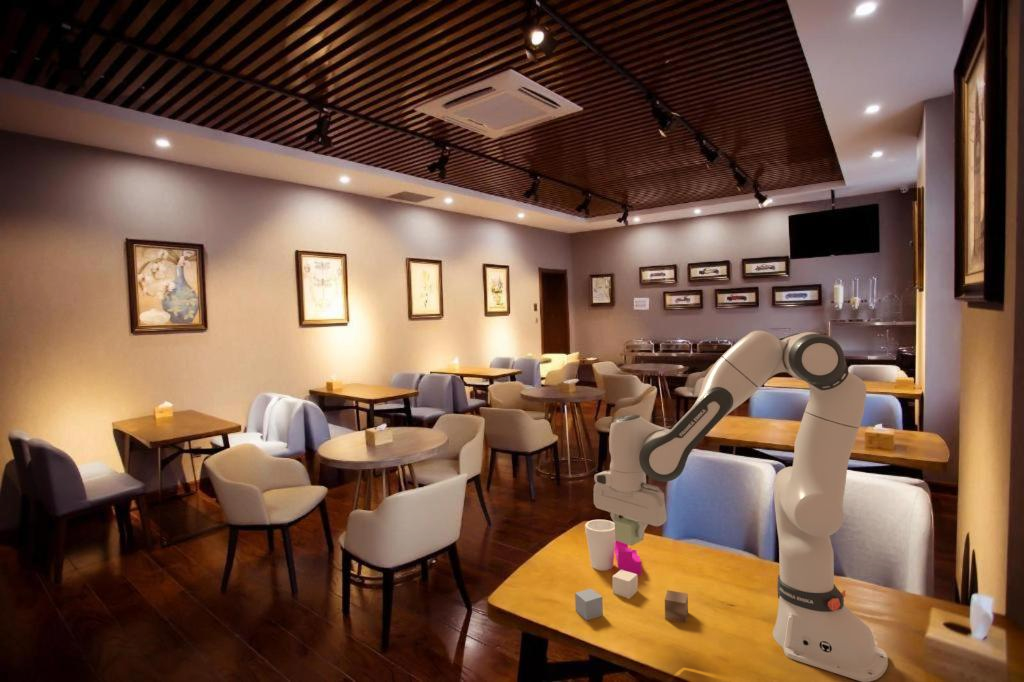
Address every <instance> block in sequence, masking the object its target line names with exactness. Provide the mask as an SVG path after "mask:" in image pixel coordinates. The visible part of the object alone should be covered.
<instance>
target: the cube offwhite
mask: <svg viewBox="0 0 1024 682" xmlns="http://www.w3.org/2000/svg"><path fill="white" fill-rule="evenodd" d="M638 579H639V578H638V575H637V574H634V573H631V572H628V571H624V570H620V571H619V570H618V571H617V572H616V573H615V574H613V575H612V579H611V580H612V594H613V595H614V594H615V595H617V596H619V597H623V598H626V599H629V600H630V599H631V598H632V597H634V595H635V594H636V593H637V592H639V591H638V590H639V589H638V586H639V585H638V583H639V582H638Z"/></svg>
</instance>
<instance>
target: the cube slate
mask: <svg viewBox="0 0 1024 682" xmlns="http://www.w3.org/2000/svg"><path fill="white" fill-rule="evenodd" d="M574 601H575V612H577V614H578V615H580V617H582V618H583V619H584V620H585V621H590V620H592V619H596V618H598V617H602V616H604V613H603V612H604V611H603V609H604V607H603V605H604V604H603V602H604V601H603V596H602V595H601V594H599V593H598V592H597V591H595V590H594V589H593V588H588V589H584V590H581V591H578V592H574Z"/></svg>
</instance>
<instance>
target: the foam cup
mask: <svg viewBox="0 0 1024 682" xmlns="http://www.w3.org/2000/svg"><path fill="white" fill-rule="evenodd" d="M584 531H585V536H586V540H587V547H588V548H587V549H588V553H589V560H590V566H591V568H593V569H594V570H597V571H602V572H604V571H609V569H610V570H611V569H613V567H614V561H615V560H614V559H615V542H616V540H615V523H614V522H613V520H612V521H611V520H607V519H592V520H589V521H587V522H586V523H585V524H584Z"/></svg>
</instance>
